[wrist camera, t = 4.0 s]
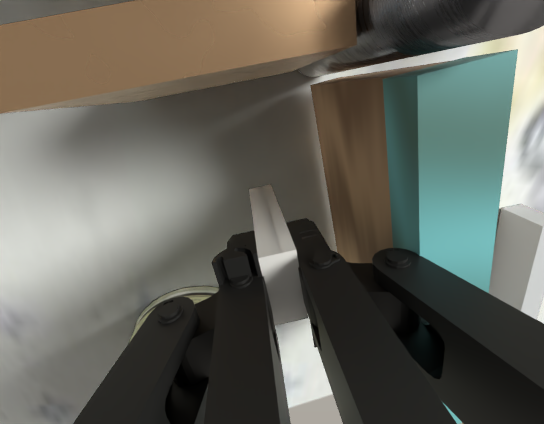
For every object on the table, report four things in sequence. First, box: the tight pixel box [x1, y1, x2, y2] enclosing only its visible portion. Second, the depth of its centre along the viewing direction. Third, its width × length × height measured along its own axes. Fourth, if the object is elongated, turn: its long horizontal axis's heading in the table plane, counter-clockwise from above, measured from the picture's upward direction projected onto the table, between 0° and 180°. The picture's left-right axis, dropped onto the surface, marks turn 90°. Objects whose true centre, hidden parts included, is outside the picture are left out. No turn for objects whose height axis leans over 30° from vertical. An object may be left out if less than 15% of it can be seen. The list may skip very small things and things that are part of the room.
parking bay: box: [489, 204, 544, 320], centre depth 21 cm, size 10×14×3 cm
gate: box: [310, 50, 518, 424], centre depth 13 cm, size 14×2×10 cm, turn 13°
